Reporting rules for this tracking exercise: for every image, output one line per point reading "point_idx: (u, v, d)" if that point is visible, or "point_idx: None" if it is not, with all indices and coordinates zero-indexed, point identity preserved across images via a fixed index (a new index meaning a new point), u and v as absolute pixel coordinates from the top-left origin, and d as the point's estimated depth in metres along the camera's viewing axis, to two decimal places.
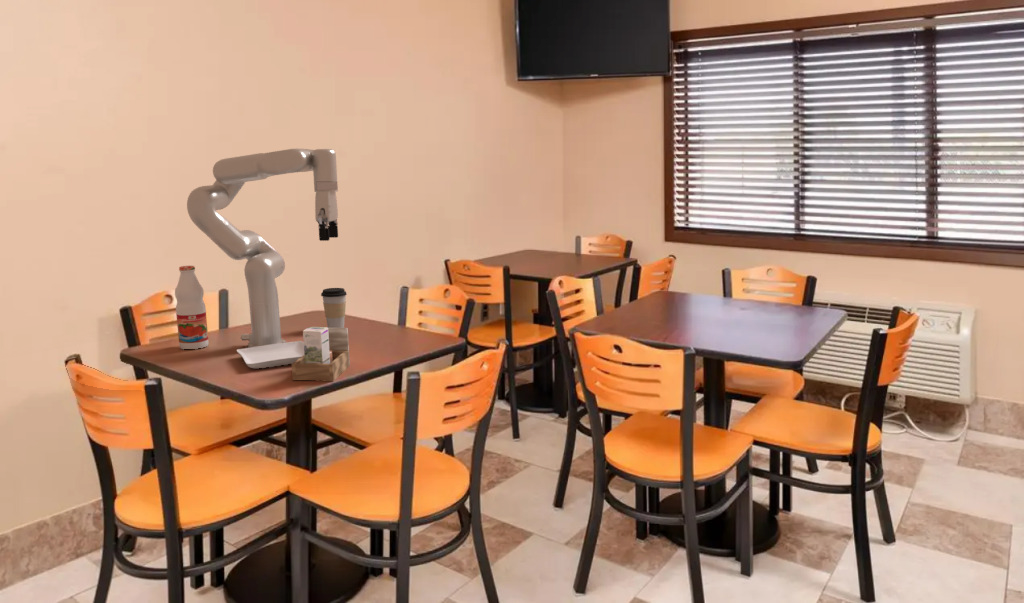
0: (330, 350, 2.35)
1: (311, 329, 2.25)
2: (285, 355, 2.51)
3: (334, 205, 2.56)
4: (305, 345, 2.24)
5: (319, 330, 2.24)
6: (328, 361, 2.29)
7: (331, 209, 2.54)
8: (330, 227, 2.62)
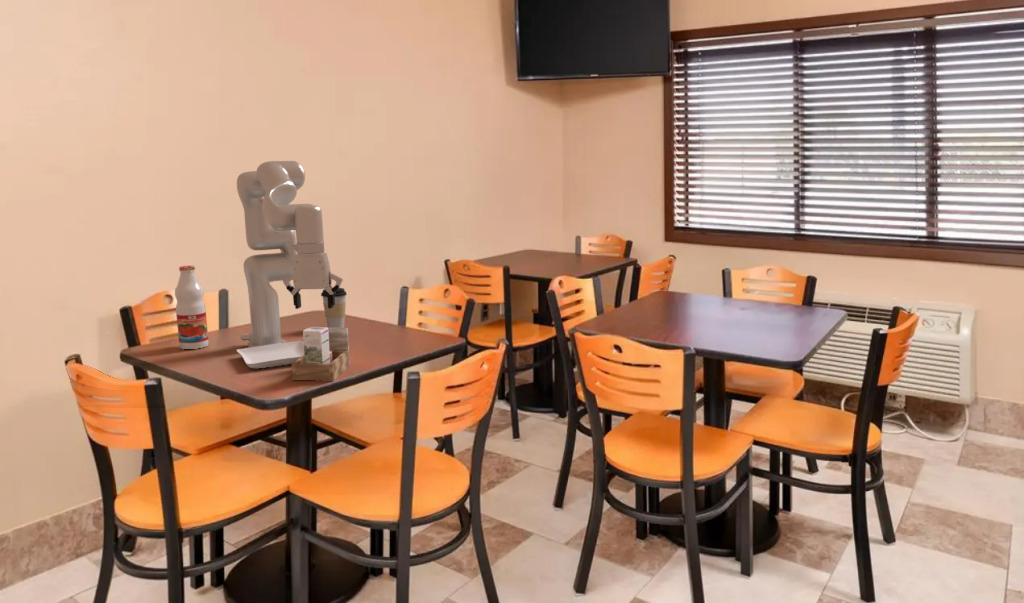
0: (330, 350, 2.35)
1: (311, 329, 2.25)
2: (285, 355, 2.51)
3: None
4: (305, 345, 2.24)
5: (319, 330, 2.24)
6: (328, 361, 2.29)
7: None
8: (298, 296, 2.24)
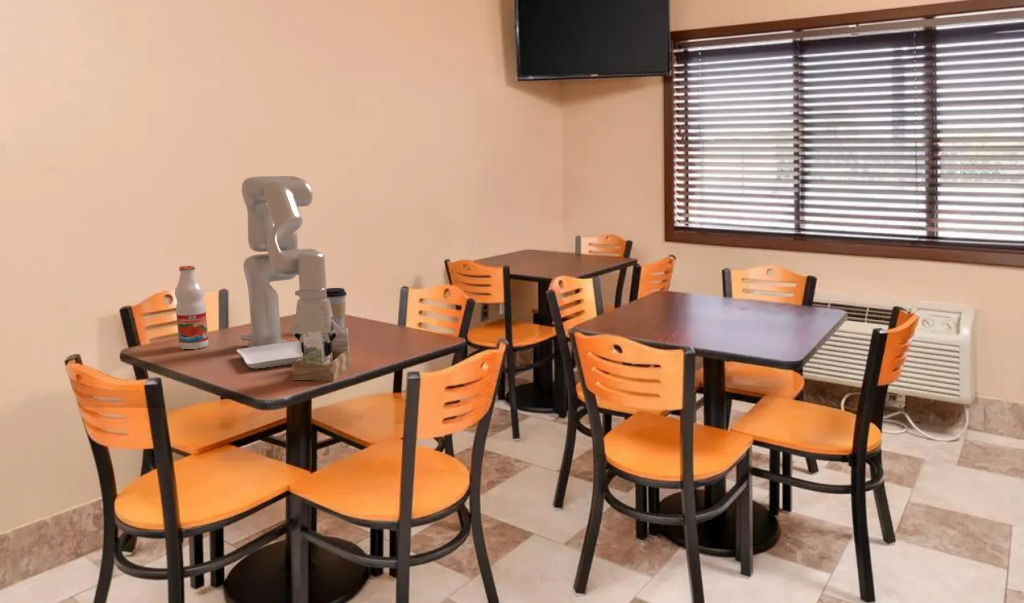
0: None
1: None
2: (285, 355, 2.51)
3: None
4: (305, 345, 2.24)
5: None
6: (328, 361, 2.29)
7: None
8: None
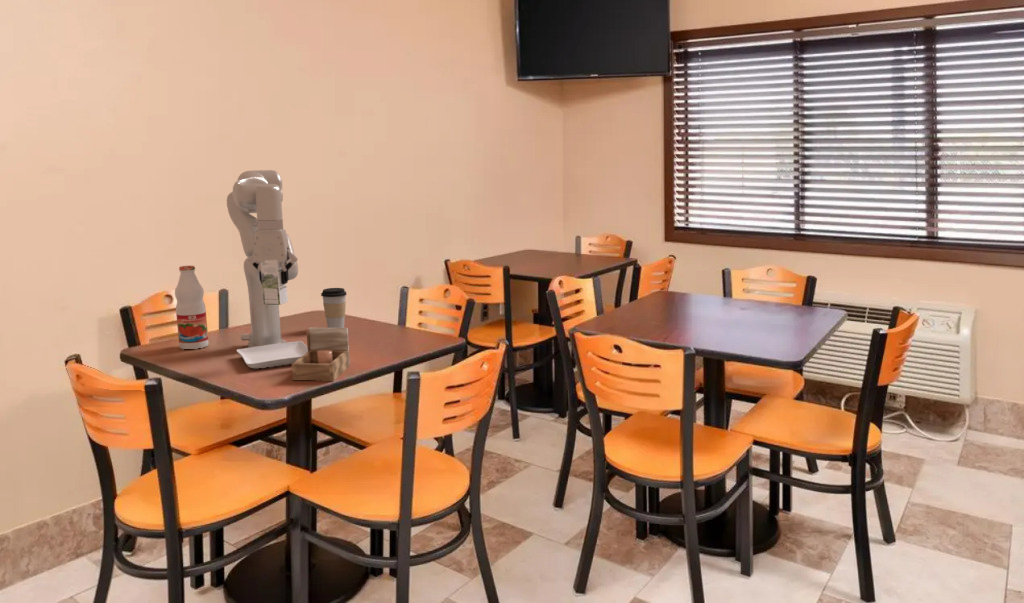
0: (330, 350, 2.35)
1: None
2: (285, 355, 2.51)
3: None
4: (262, 273, 2.39)
5: None
6: (285, 289, 2.43)
7: None
8: None
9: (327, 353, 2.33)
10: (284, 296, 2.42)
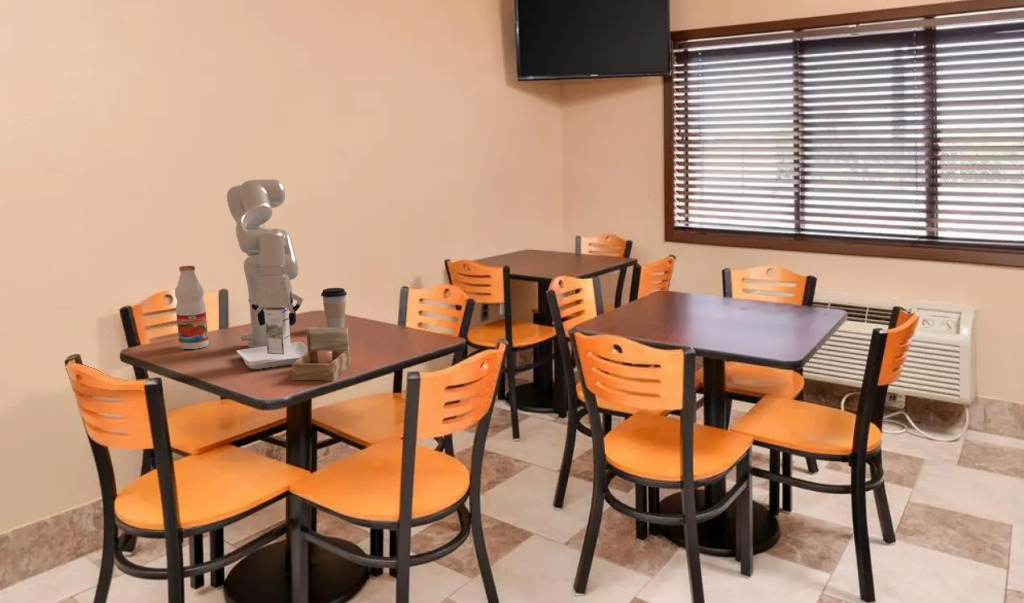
0: (330, 350, 2.35)
1: (272, 308, 2.43)
2: (285, 356, 2.51)
3: None
4: (266, 323, 2.42)
5: (279, 309, 2.42)
6: (288, 338, 2.47)
7: None
8: (262, 314, 2.43)
9: (327, 353, 2.33)
10: (287, 345, 2.46)
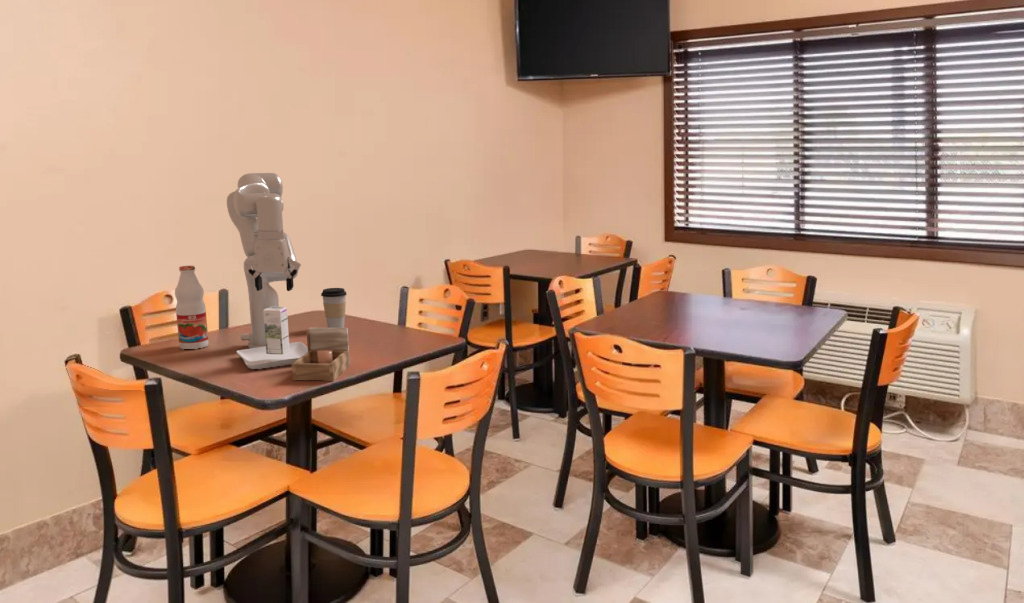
0: (330, 350, 2.35)
1: (271, 308, 2.43)
2: (285, 356, 2.51)
3: None
4: (265, 323, 2.42)
5: (278, 309, 2.42)
6: (287, 338, 2.47)
7: None
8: (259, 279, 2.42)
9: (327, 353, 2.33)
10: (286, 345, 2.46)
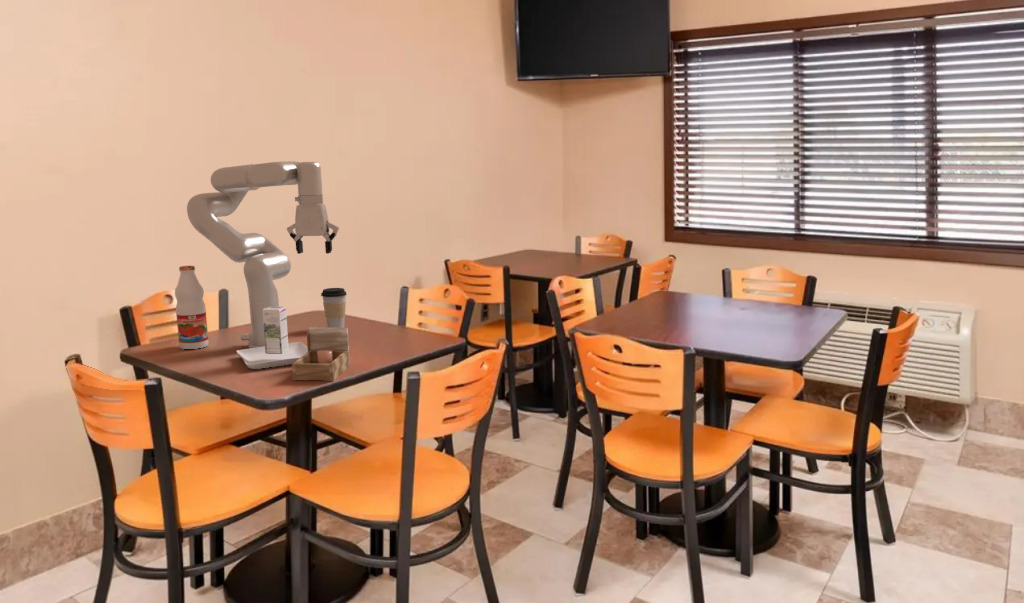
0: (330, 350, 2.35)
1: (270, 308, 2.43)
2: (285, 356, 2.51)
3: None
4: (264, 323, 2.42)
5: (278, 309, 2.42)
6: (286, 338, 2.47)
7: None
8: (299, 243, 2.53)
9: (327, 353, 2.33)
10: (285, 345, 2.46)
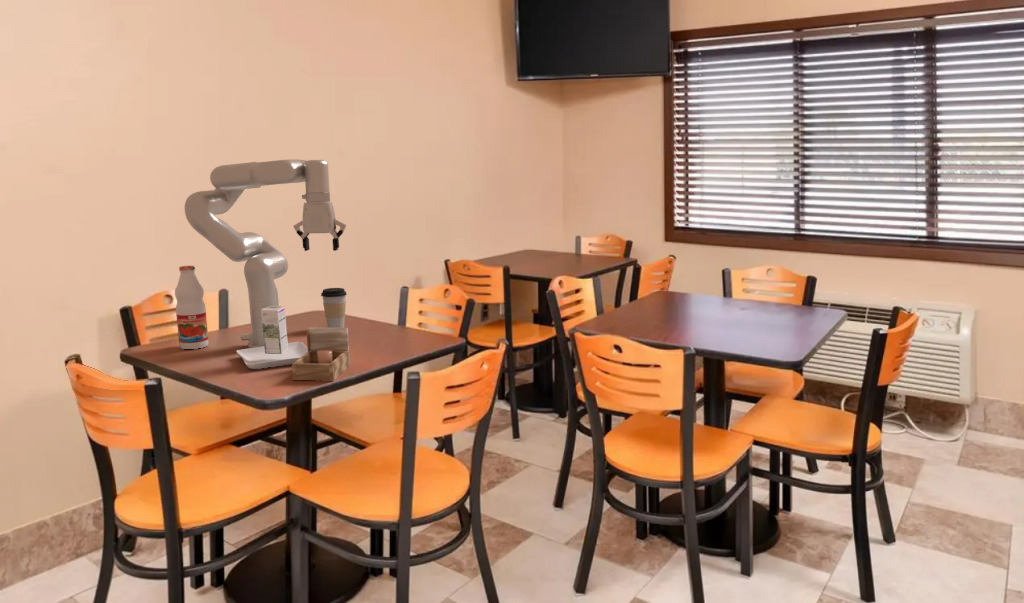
0: (330, 350, 2.35)
1: (268, 308, 2.43)
2: (285, 356, 2.51)
3: None
4: (263, 323, 2.42)
5: (276, 309, 2.42)
6: (285, 337, 2.47)
7: None
8: (306, 240, 2.55)
9: (327, 353, 2.33)
10: (284, 344, 2.46)
